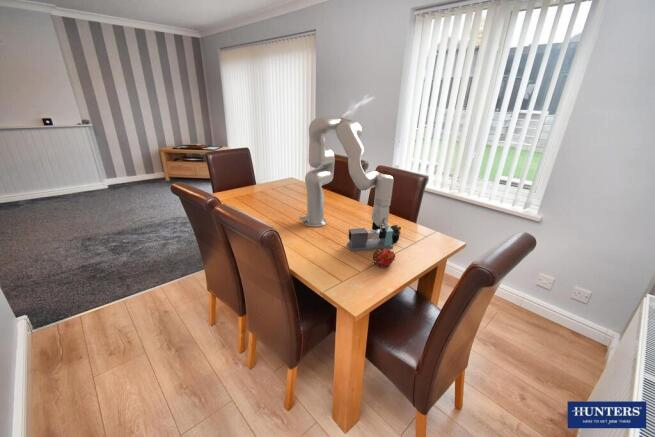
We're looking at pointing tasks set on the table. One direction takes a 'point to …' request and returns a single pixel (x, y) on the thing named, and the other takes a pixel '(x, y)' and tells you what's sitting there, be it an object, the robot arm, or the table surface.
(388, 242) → the socket block
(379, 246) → the base board
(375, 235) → the inner tube
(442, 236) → the table surface
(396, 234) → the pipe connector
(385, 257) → the dragon fruit
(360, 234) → the outer sleeve
